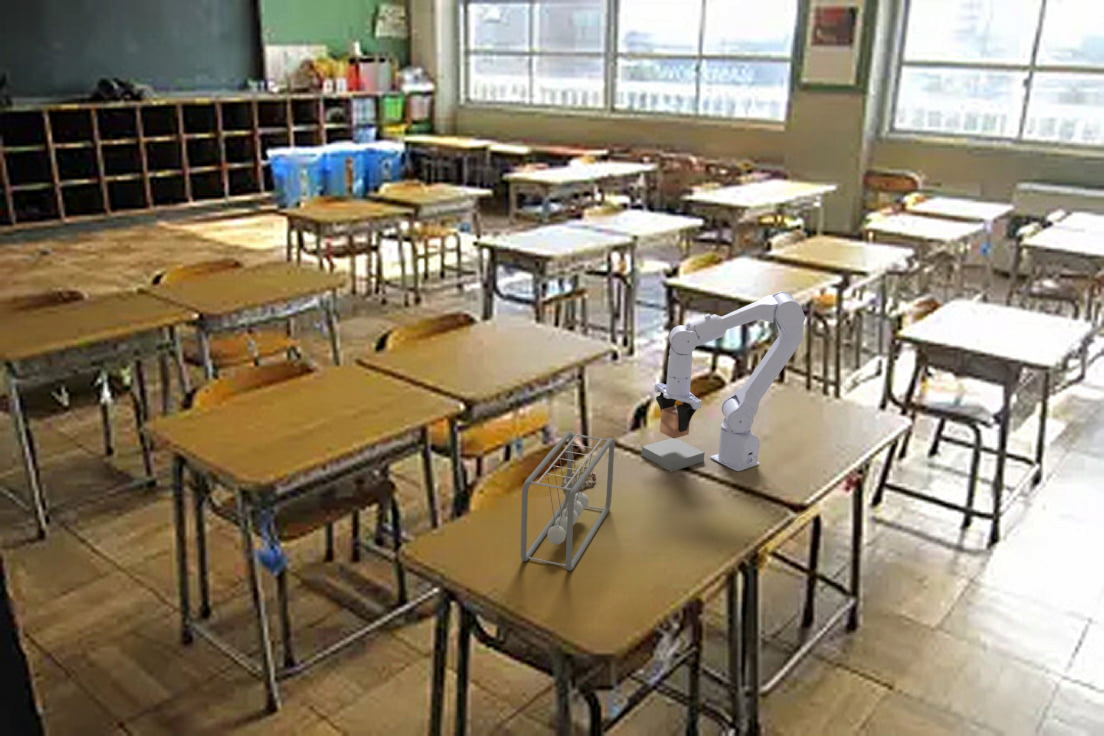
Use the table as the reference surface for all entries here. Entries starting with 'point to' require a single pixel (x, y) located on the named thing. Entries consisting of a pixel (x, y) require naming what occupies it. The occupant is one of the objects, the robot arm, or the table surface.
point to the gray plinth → (673, 454)
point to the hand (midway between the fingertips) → (674, 426)
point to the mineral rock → (589, 480)
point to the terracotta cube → (671, 423)
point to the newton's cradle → (567, 500)
